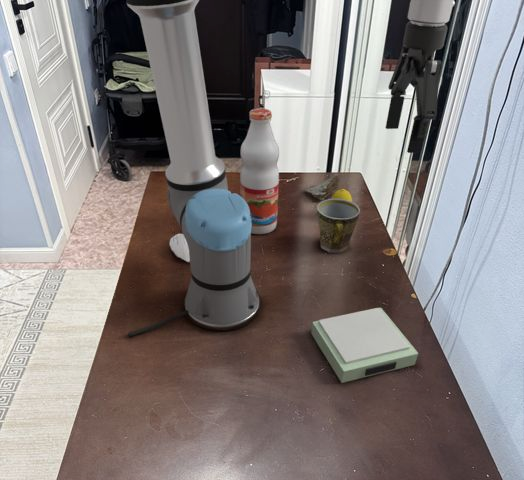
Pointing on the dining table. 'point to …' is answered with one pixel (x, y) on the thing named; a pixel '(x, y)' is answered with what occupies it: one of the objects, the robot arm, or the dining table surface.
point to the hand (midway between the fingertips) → (402, 139)
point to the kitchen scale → (363, 344)
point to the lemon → (342, 195)
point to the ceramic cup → (336, 223)
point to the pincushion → (180, 246)
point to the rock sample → (324, 187)
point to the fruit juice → (260, 172)
